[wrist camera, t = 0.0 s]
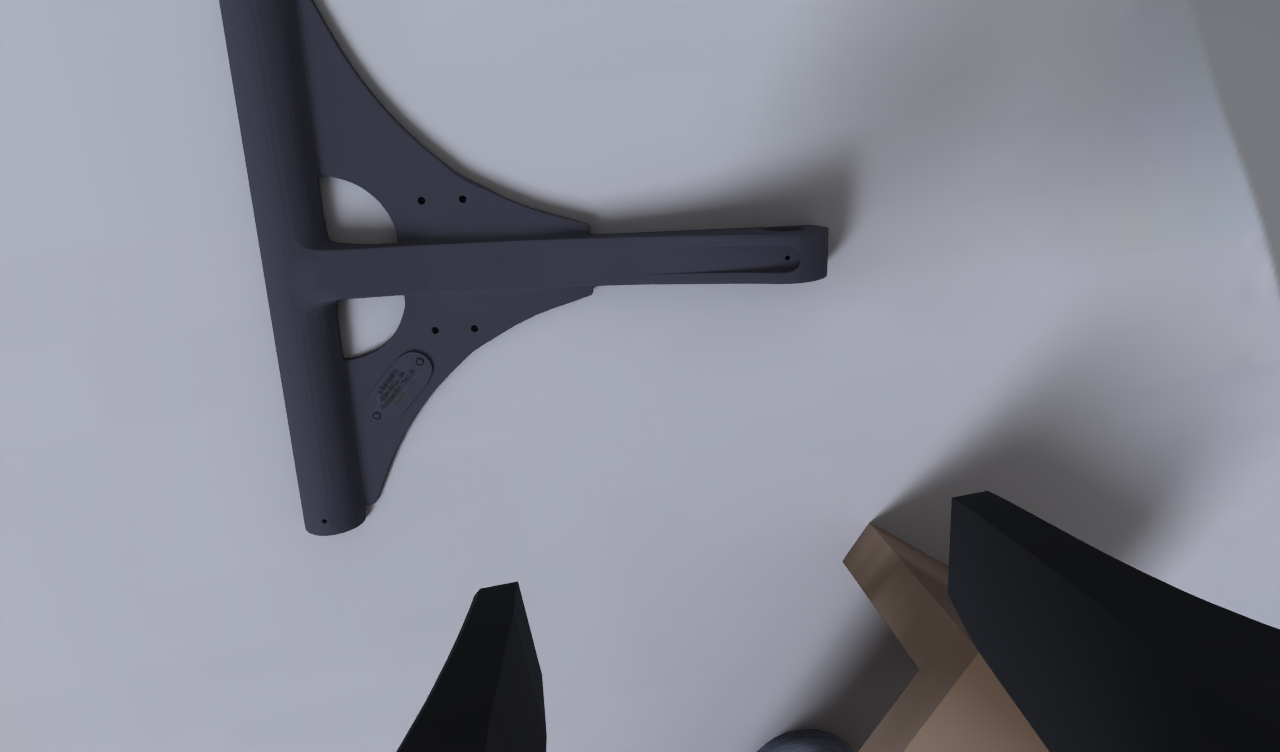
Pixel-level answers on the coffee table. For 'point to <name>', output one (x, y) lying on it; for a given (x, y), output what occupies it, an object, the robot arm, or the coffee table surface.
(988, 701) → the walnut shelf
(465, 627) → the robot arm
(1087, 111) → the coffee table surface
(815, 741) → the steel puck
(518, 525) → the coffee table surface
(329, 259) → the bracket
